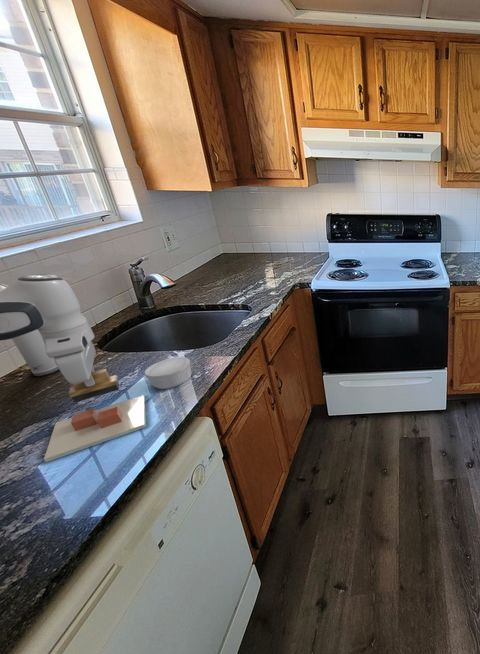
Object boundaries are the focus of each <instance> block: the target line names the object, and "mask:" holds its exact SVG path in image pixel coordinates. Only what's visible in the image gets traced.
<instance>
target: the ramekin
mask: <svg viewBox="0 0 480 654" xmlns="http://www.w3.org/2000/svg"><path fill="white" fill-rule="evenodd" d="M143 374H144V376H145V377H146V379H147V380H148V381H149V382H150V383H151V385H152V386H153V387H154V388H156V389H158V390H166V389H167V390H169V389H172V388H175V387H178V386H181V385H183V384H184V383H186V382H188V380H189V379H190V378H191V376H192V368H191V360H190V359H189V358H188V357H185V356H175V357H170V358H166V359H163V360H160V361H158V362H156V363H154V364H152V365H150V366H149V367H147V368H146V369H145V371H144V373H143Z"/></svg>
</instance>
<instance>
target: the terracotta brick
mask: <svg viewBox="0 0 480 654" xmlns="http://www.w3.org/2000/svg"><path fill="white" fill-rule="evenodd" d="M97 422H98V423H99V425H100V427H101V428H104V427H107V426H110V425H113V424H116V423H119V422H122V412H121V410H120V408H119V406H118V407H115V408H112V409H108V410H105V411H102V412H99V413H98V418H97Z"/></svg>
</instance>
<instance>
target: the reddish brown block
mask: <svg viewBox="0 0 480 654" xmlns="http://www.w3.org/2000/svg"><path fill="white" fill-rule="evenodd" d="M95 410H96V409H95V408H91V409H88V410H85V411H81V412H79V413H76V414H73V415H72V417H71V418H72V421H71V424H72V426H73V428H74V429H75V431H77V430H81V429H84V428H87V427H90V426H93V425H96V424H97V418H98V415H97V413H96V411H95Z"/></svg>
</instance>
